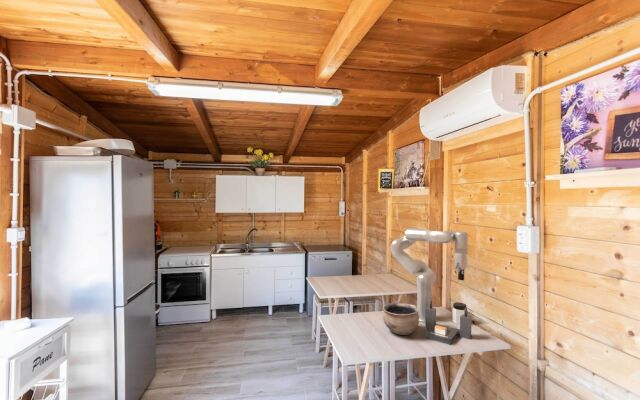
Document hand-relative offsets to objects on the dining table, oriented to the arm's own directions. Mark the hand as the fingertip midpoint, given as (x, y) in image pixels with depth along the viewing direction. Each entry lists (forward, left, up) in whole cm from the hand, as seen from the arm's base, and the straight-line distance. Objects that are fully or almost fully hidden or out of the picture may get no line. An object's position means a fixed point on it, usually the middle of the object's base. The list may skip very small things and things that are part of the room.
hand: (461, 279), depth 201 cm
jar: (-4, +9, -31) cm, 32 cm away
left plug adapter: (-15, -12, -31) cm, 36 cm away
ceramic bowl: (-27, -31, -31) cm, 51 cm away
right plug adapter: (+6, -12, -31) cm, 33 cm away
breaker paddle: (-5, -24, -28) cm, 37 cm away
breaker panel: (-5, -20, -31) cm, 37 cm away
